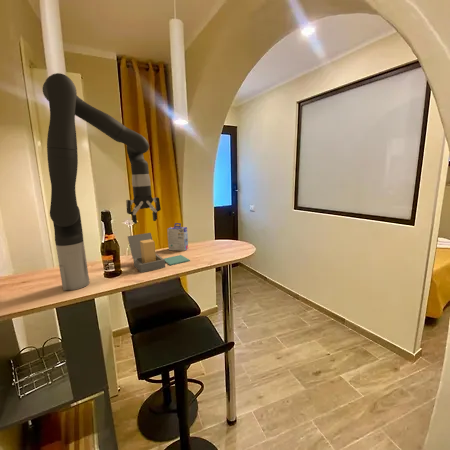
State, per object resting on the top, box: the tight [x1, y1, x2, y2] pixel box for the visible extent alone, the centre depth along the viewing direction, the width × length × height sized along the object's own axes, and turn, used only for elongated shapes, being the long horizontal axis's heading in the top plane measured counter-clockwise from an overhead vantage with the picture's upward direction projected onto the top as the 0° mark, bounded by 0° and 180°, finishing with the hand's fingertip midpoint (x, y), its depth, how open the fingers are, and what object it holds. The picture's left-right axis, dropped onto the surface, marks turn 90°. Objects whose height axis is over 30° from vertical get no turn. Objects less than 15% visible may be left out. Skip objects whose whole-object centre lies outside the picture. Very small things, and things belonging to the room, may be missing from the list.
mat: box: [163, 254, 191, 266], centre depth 132 cm, size 10×10×1 cm
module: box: [140, 239, 157, 264], centre depth 124 cm, size 5×5×12 cm
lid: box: [127, 232, 157, 259], centre depth 131 cm, size 11×11×2 cm
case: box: [132, 253, 166, 273], centre depth 124 cm, size 11×11×4 cm
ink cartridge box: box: [166, 222, 189, 252], centre depth 149 cm, size 10×6×14 cm, turn 78°
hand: (145, 222), depth 121 cm, fingers open, 8 cm apart
